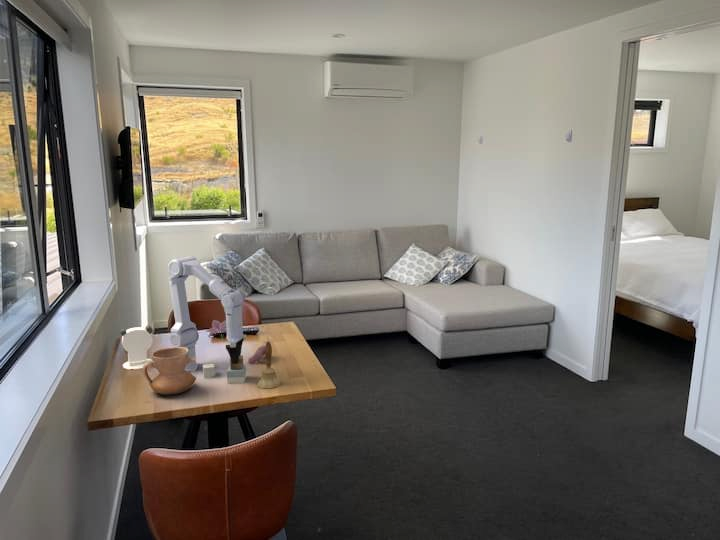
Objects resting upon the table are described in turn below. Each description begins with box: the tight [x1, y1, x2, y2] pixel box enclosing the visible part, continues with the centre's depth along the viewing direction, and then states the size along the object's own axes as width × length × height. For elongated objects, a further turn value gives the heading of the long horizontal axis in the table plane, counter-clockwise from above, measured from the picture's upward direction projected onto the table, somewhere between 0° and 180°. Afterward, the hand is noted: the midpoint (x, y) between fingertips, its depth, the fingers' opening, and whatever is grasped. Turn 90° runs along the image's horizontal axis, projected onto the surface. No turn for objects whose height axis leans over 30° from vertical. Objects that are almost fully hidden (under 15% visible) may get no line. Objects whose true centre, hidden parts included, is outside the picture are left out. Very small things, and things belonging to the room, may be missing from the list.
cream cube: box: [202, 363, 216, 379], centre depth 203 cm, size 4×4×4 cm
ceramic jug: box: [142, 346, 197, 396], centre depth 189 cm, size 18×14×14 cm
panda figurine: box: [120, 325, 154, 370], centre depth 214 cm, size 12×11×15 cm
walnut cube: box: [229, 354, 244, 370], centre depth 198 cm, size 4×4×4 cm
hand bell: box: [257, 341, 282, 389], centre depth 193 cm, size 8×8×16 cm
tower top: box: [226, 364, 247, 379], centre depth 198 cm, size 6×6×2 cm
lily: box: [205, 319, 227, 340], centre depth 246 cm, size 12×12×10 cm
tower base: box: [226, 371, 247, 384], centre depth 199 cm, size 6×6×2 cm
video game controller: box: [248, 344, 266, 364], centre depth 218 cm, size 10×5×7 cm, turn 169°
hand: (236, 359), depth 198 cm, fingers open, 7 cm apart
